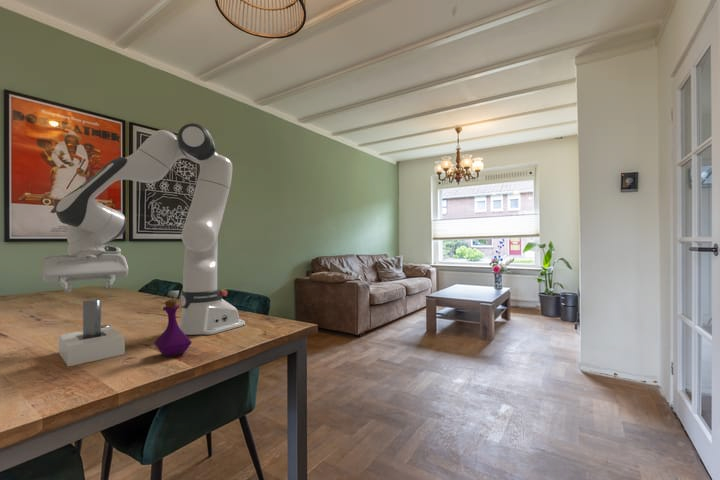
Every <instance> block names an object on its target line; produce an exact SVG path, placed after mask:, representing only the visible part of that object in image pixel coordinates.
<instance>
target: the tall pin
mask: <svg viewBox="0 0 720 480" xmlns="http://www.w3.org/2000/svg"><path fill="white" fill-rule="evenodd" d="M101 325H102V299H98V298H95V299H94V298H93V299H85V300H83V301H82V331H83V340H84V339H90V338H95V337H101Z"/></svg>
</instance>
